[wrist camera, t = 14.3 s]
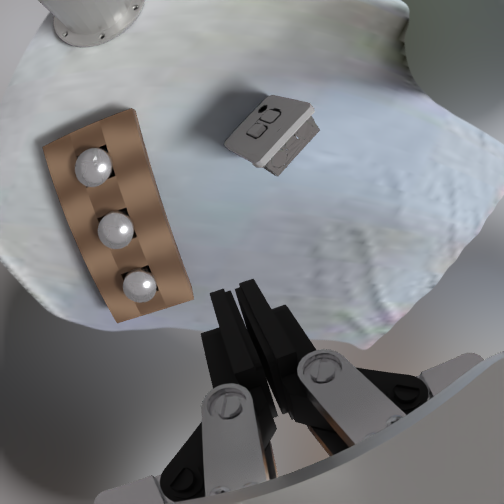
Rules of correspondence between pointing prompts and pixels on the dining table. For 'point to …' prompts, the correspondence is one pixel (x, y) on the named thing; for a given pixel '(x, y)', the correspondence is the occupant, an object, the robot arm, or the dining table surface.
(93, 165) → the knob near
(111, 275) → the knob mount
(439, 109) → the dining table surface
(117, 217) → the knob mid
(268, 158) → the electrical switch
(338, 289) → the dining table surface
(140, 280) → the knob far
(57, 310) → the dining table surface
